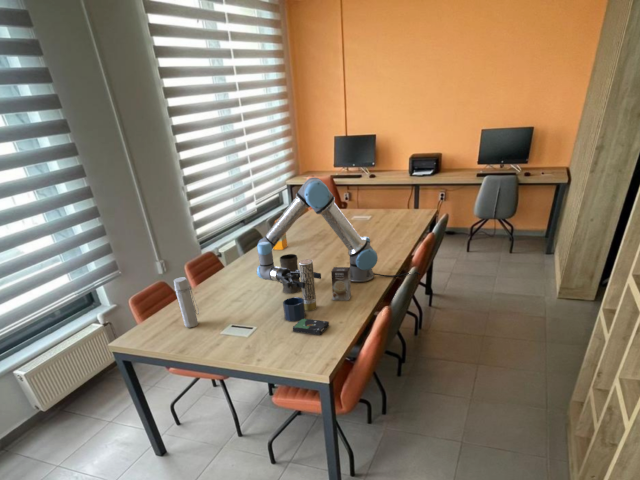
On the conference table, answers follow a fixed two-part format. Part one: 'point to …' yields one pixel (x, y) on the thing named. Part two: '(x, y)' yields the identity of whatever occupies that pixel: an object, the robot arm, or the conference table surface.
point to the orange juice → (281, 241)
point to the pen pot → (294, 309)
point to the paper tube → (308, 284)
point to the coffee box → (341, 283)
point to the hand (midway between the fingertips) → (312, 280)
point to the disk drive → (311, 326)
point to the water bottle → (186, 302)
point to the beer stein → (291, 264)
